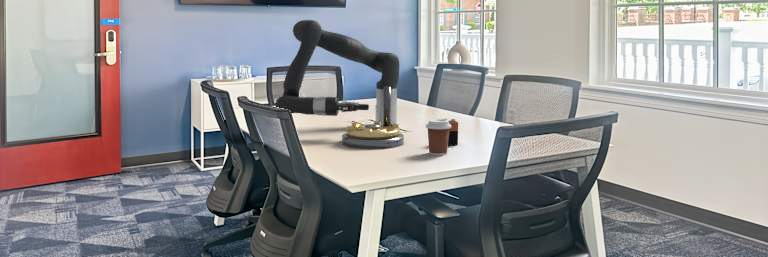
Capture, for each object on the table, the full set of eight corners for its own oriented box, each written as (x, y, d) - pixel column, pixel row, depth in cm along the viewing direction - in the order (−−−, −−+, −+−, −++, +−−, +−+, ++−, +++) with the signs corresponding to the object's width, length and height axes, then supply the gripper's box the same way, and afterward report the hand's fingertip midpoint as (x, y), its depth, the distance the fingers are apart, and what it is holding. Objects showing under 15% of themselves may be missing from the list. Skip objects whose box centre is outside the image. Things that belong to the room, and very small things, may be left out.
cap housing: (331, 141, 253) (331, 133, 253) (382, 135, 266) (382, 128, 266) (362, 151, 233) (362, 143, 233) (415, 144, 246) (415, 137, 246)
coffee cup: (449, 151, 234) (449, 118, 232) (452, 156, 225) (453, 122, 223) (424, 151, 234) (424, 118, 232) (426, 156, 225) (427, 122, 223)
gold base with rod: (361, 128, 263) (361, 85, 260) (408, 132, 254) (408, 87, 251) (335, 136, 244) (335, 89, 242) (385, 141, 235) (385, 92, 233)
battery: (438, 143, 249) (438, 118, 247) (455, 143, 250) (456, 118, 248) (440, 145, 245) (441, 119, 243) (458, 145, 245) (458, 119, 244)
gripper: (322, 98, 251) (366, 99, 248) (329, 95, 263) (371, 96, 261) (322, 117, 252) (366, 118, 250) (329, 113, 265) (370, 114, 263)
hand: (368, 107), depth 256 cm, fingers closed
